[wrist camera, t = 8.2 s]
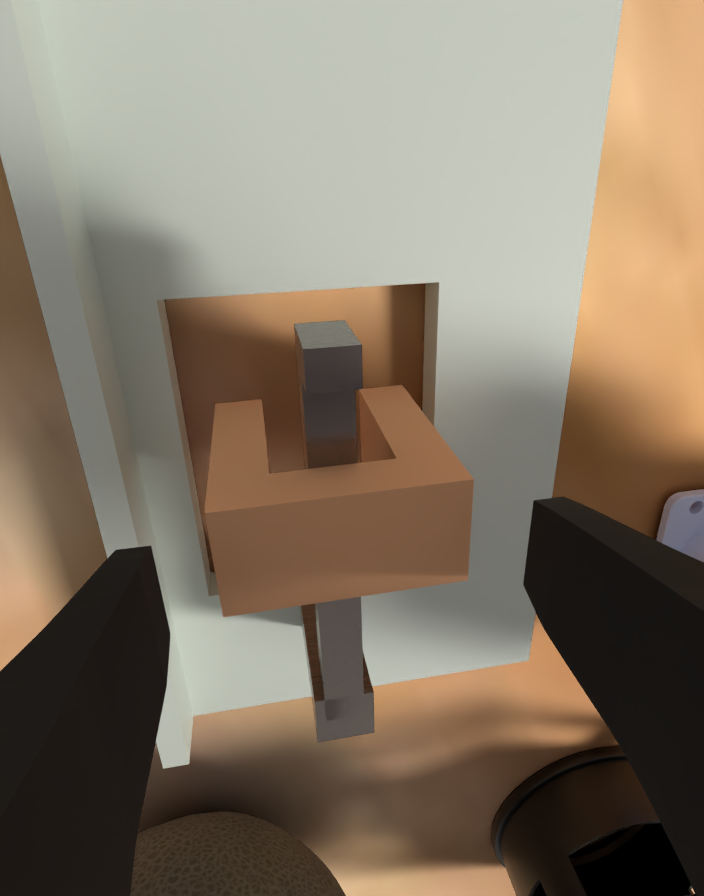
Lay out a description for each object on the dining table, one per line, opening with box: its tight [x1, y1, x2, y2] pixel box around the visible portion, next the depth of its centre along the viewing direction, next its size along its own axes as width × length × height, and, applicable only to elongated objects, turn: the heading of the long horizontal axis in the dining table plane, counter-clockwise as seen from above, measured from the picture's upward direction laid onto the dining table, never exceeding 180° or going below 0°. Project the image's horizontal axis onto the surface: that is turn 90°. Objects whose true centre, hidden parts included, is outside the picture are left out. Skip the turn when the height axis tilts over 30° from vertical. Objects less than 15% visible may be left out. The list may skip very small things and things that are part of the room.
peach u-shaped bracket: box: [204, 385, 474, 617], centre depth 13 cm, size 5×2×5 cm, turn 92°
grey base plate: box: [0, 0, 623, 769], centre depth 15 cm, size 13×22×3 cm, turn 2°
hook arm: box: [294, 320, 374, 742], centre depth 15 cm, size 2×11×6 cm, turn 2°
